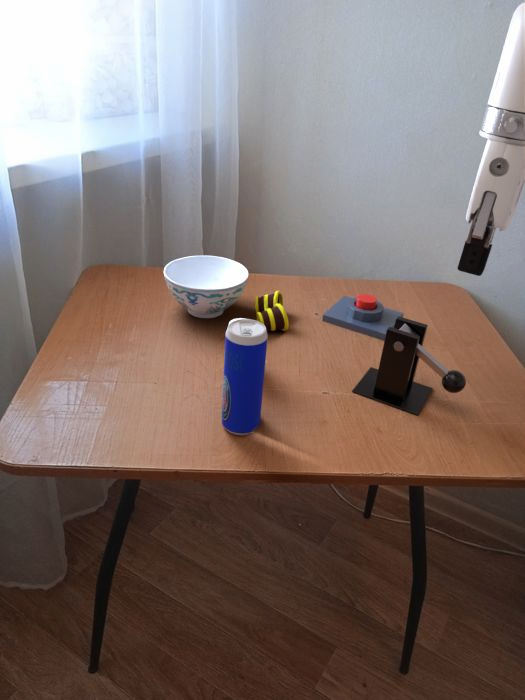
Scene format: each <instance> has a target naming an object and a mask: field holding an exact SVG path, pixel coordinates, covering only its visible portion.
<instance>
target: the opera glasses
mask: <svg viewBox="0 0 525 700" xmlns="http://www.w3.org/2000/svg"><path fill="white" fill-rule="evenodd" d="M283 298H284V297H283V294H282V292H281V291H280V290H276V291H275V292H274V293H272V294H269V293H267V294H265V295H261V296H255V298H254V301H255V302H254V303H255V304H254V306H255V307H254V309H255V313H256V321H258V322H260V323H262V324H263V325H264V326H265V327H266V331H267V332H268V331H271V332H275V331H276V330H281V331H282V332H286V331H287V330H288V329H289V326H290V322H289V318H288V314H287V312H286V309H285V308H284V299H283Z"/></svg>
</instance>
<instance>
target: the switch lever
mask: <svg viewBox="0 0 525 700" xmlns="http://www.w3.org/2000/svg"><path fill="white" fill-rule="evenodd" d="M399 330H402V331H405V332H408V333H411V334H415V335H418V334H417V333H415V332H414V331H413V330H412V329H411V328H410V327H409V326H408V325H406V324H404V325H403V326H402V327H401V328H400V329H399ZM418 336H419V335H418ZM416 355H417V356H418V357H419V360H421V361H423V362H424V364H426V365H427V366H429V368H430V369H431V370H432V371H434V372H435V373H436V374H437V375H438V376H439V377H440V378H441V385H442V387H443V389H444V390H445V391H446V392H448V393H450V394H458V393H460V392H462V391H463V390H464V389H465V387H466V384H467V379H466V376H465V374H463V373H462V372H461V371H459V370H456V369H451V370H449V369H448V368H447V367H446V366H445V365H443V364H442V363H441V362H440V361H439V360H438V359H436V358H435V356H433V355H432V354H431V353H430V352H429V351H427V350H426V348H424V347H423V346H421V345H420V344H418V346H417V350H416Z"/></svg>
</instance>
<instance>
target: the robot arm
mask: <svg viewBox="0 0 525 700" xmlns="http://www.w3.org/2000/svg"><path fill="white" fill-rule="evenodd" d="M507 30H508V31H507V32H506V37H505V40H504V43H503V48H502V51H501V55H500V59H499V62H498V66H497V69H496V73H495V76H494V79H493V83H492V86H491V90H490V93H489V97H488V100H487V105H486V108H485V110H484V116H483V117H482V121H481V125H480V128H479V132H478V135H479V136H480V137H482V138H484V139H487V140H486V143H485V146H484V150H483V153H482V156H481V160H480V163H479V167H478V169H477V173H476V177H475V180H474V184H473V187H472V190H471V195H470V199H469V201H468V206H467V209H466V214H465V221H466V222H467V223H468V224H470V228H469V232H468V236H467V238H466V240H465V241H464V245H463V248H462V252H461V254H460V259H459V262H458V263H457V264H458V265H457V270H458V271H459V272H463V273H466V274H470V275H474V276H476V277H480V276H482V275H483V273H484V271H485V269H486V266H487V263H488V260H489V256H490V254H491V251H492V248H493V244H492V243H493V240H494V236H495V233H496V230H497V228H498V230H499V232H503V231H505V230H507V229H508V227H509V225H510V224H511V222H512V220H513V218H514V214H515V212H516V209H517V206H518V202H519V199H520V196H521V194H522V191H523V188H524V185H525V1H524V2H522V3H520V4H519V5H518V6H517V7H516V9H515V10H514V12H513V14H512V16H511V19H510V23H509V26H508V29H507Z"/></svg>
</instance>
